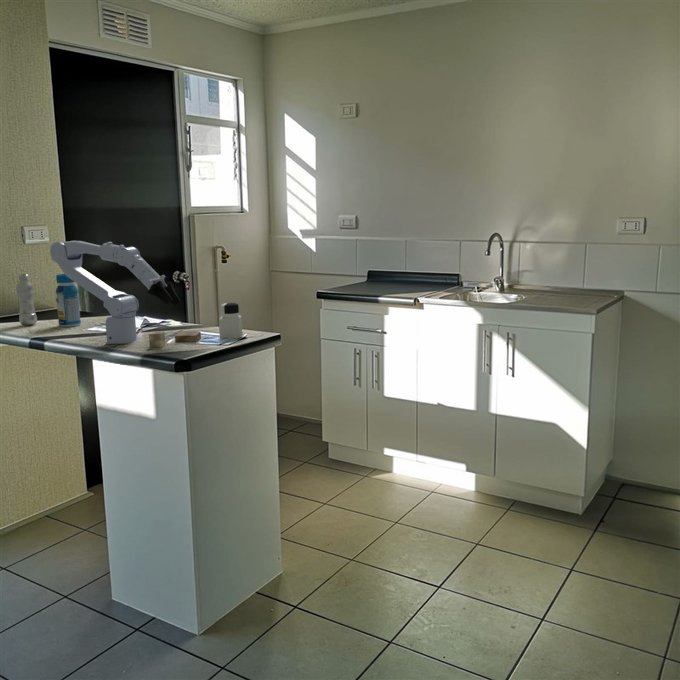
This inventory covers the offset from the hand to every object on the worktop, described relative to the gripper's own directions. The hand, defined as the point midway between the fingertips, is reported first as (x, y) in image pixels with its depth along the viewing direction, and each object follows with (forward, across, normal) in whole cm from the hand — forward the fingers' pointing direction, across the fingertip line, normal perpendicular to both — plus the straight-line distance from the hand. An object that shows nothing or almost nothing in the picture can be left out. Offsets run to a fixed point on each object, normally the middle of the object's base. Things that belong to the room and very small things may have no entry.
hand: (174, 302), depth 236 cm
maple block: (+7, -1, +14) cm, 16 cm away
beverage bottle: (-37, +37, +43) cm, 68 cm away
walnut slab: (+10, +8, +7) cm, 15 cm away
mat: (+10, +8, +8) cm, 15 cm away
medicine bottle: (+18, +17, -2) cm, 25 cm away
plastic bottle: (-50, +37, +55) cm, 83 cm away
